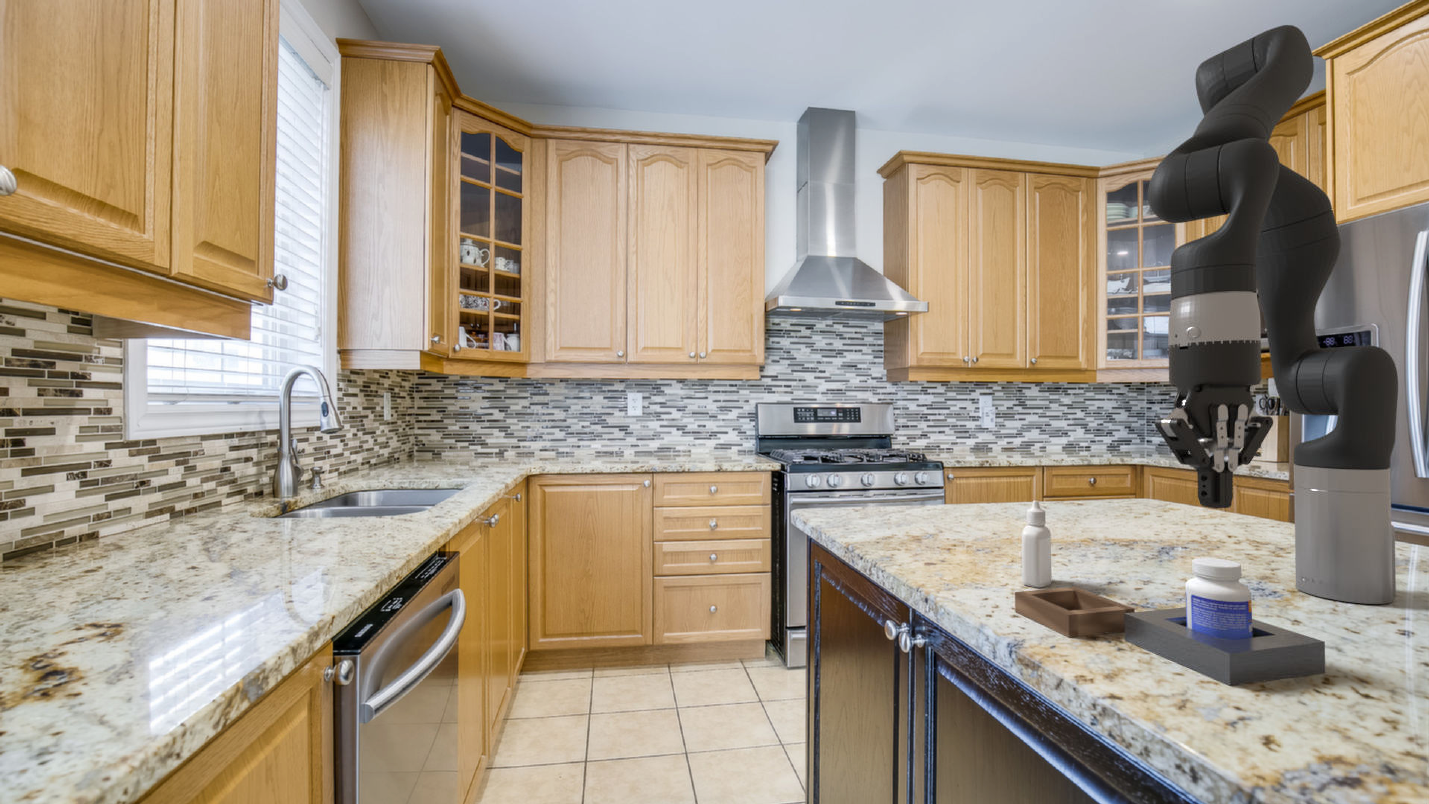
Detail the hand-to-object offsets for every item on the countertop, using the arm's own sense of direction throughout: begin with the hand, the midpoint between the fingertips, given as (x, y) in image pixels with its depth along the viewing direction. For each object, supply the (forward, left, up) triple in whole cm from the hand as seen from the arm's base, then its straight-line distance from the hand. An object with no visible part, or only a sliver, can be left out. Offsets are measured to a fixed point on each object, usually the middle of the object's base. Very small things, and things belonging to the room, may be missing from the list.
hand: (1215, 506), depth 65 cm
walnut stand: (+6, -12, -15) cm, 21 cm away
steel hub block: (0, 0, -15) cm, 15 cm away
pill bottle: (0, 0, -16) cm, 16 cm away
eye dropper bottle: (-1, -27, -16) cm, 31 cm away
